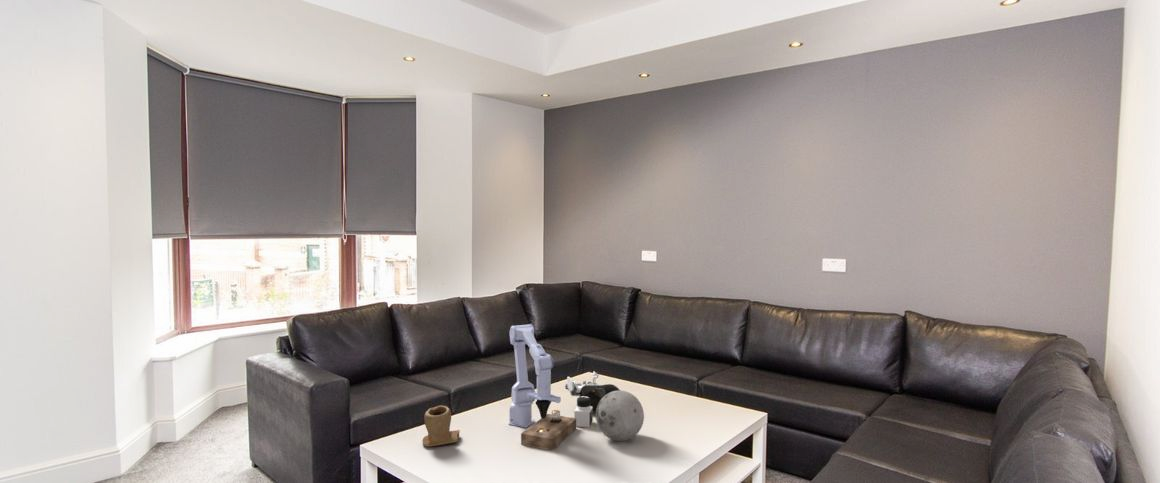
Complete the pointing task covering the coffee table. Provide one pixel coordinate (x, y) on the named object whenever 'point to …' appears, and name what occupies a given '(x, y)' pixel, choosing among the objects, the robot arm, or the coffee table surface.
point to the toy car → (577, 387)
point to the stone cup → (439, 427)
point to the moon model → (619, 415)
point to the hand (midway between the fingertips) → (543, 417)
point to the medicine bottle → (583, 412)
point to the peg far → (556, 416)
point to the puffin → (596, 393)
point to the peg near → (543, 431)
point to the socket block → (554, 434)
